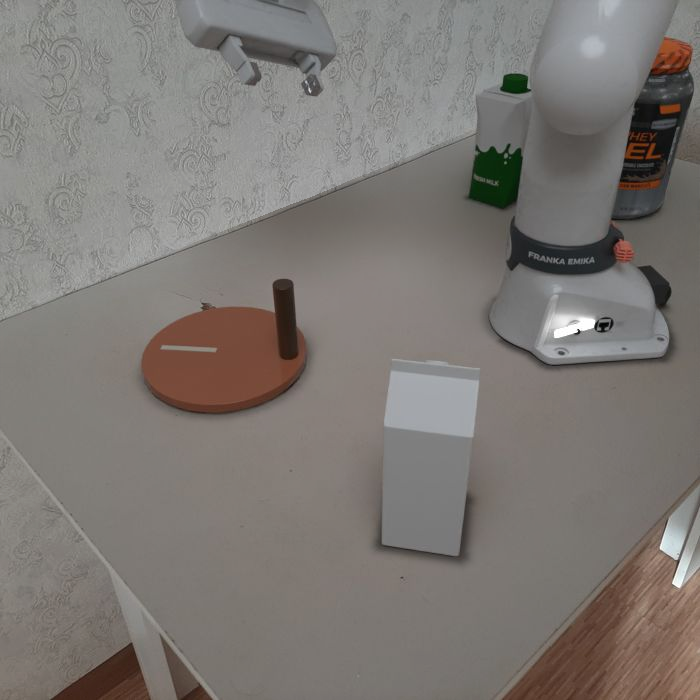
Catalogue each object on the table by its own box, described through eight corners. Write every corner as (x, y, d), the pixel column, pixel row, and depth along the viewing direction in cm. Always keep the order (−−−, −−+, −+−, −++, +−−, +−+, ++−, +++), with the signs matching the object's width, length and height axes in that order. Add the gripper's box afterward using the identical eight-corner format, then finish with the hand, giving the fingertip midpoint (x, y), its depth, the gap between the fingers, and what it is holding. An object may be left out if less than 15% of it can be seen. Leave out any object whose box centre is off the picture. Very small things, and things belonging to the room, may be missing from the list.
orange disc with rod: (317, 317, 96) (313, 242, 89) (291, 417, 80) (284, 335, 73) (171, 310, 97) (157, 236, 91) (118, 407, 81) (96, 326, 75)
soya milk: (530, 194, 126) (547, 78, 114) (504, 212, 121) (519, 92, 109) (488, 181, 131) (500, 68, 119) (460, 198, 126) (470, 81, 114)
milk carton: (458, 558, 65) (478, 398, 53) (381, 546, 66) (384, 387, 55) (464, 499, 70) (483, 343, 59) (393, 489, 71) (397, 334, 60)
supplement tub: (555, 210, 121) (582, 49, 106) (580, 177, 132) (608, 27, 117) (652, 230, 115) (696, 63, 99) (670, 194, 126) (712, 37, 110)
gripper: (177, -65, 71) (225, 53, 69) (320, -17, 86) (363, 81, 84) (148, -19, 75) (192, 93, 73) (289, 19, 90) (330, 114, 88)
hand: (285, 87), depth 79 cm, fingers open, 8 cm apart
